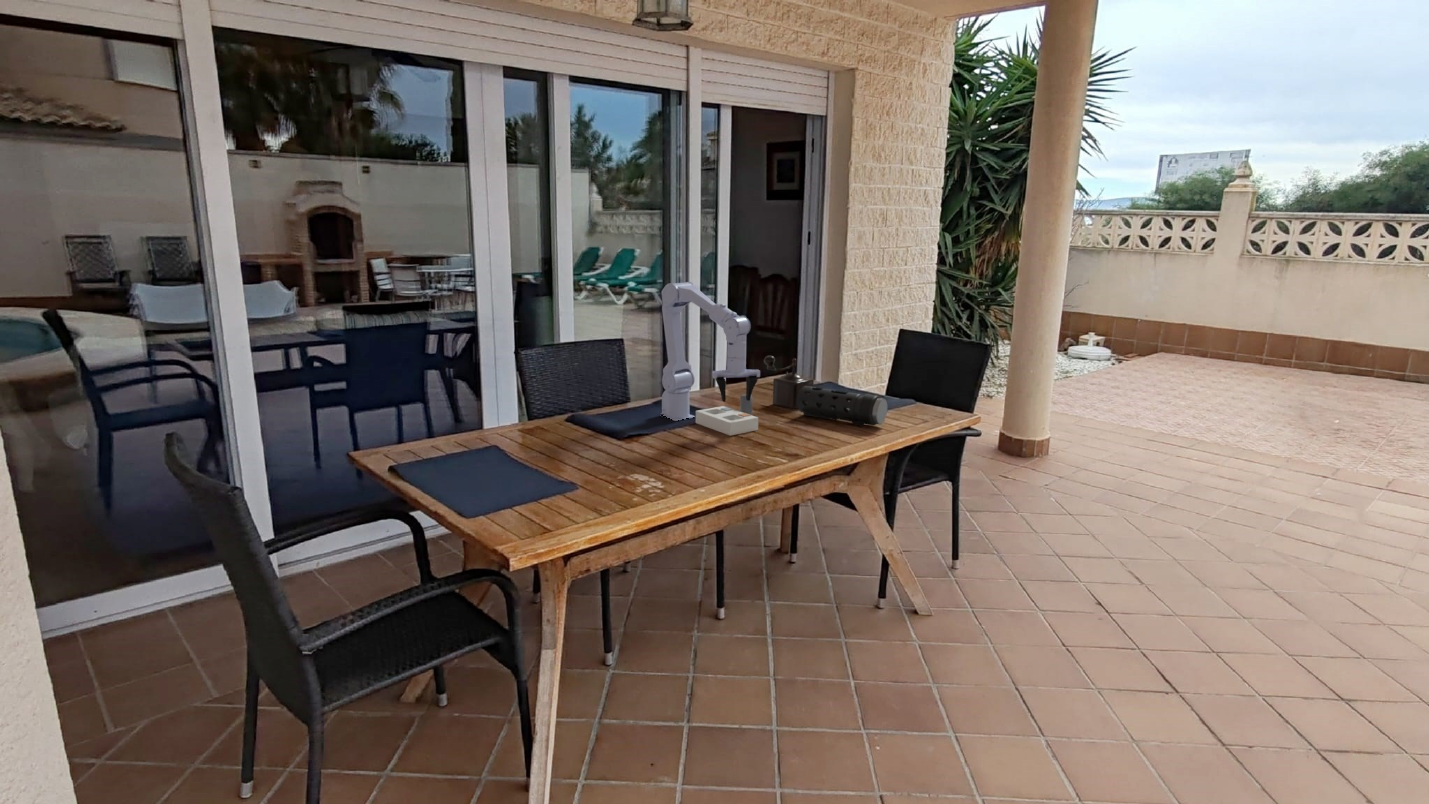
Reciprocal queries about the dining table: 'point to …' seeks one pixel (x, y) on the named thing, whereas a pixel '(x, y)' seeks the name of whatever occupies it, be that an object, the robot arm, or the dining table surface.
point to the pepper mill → (787, 385)
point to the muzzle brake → (842, 405)
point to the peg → (746, 404)
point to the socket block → (727, 420)
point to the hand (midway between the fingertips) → (735, 400)
